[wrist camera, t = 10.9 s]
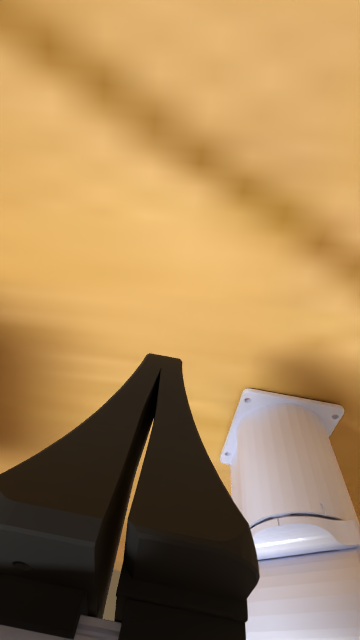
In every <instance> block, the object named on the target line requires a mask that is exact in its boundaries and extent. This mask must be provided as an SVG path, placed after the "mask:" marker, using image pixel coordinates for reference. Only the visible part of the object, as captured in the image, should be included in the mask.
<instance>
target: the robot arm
mask: <svg viewBox="0 0 360 640" xmlns="http://www.w3.org/2000/svg"><path fill="white" fill-rule="evenodd" d="M246 398H249V399H246ZM343 414H344V409H343V407H342V406H341V405H337V404H331V403H326V402H321V401H315V400H310V399H304V398H299V397H294V396H288V395H283V394H278V393H272V392H267V391H261V390H256V389H251V388H248V389H245V390H244V391H243V392H242V395H241V398H240V401H239V404H238V407H237V410H236V412H235V415H234V418H233V421H232V424H231V427H230V430H229V433H228V435H227V438H226V441H225V444H224V447H223V450H222V453H221V455H220V461H221V462H222V463H224V464H229V465H230V467H231V496H230V495H229V493H228V491H227V489H226V488H225V486H224V484H223V483H222V481H221V479H220V477H219V475H218V473H217V472H216V470H215V468H214V466H213V464H212V462H211V460H210V458H209V456H208V454H207V452H206V450H205V447H204V445H203V443H202V441H201V438H200V436H199V433H198V431H197V428H196V425H195V423H194V420H193V417H192V414H191V410H190V407H189V404H188V400H187V395H186V391H185V387H184V381H183V374H182V361H181V360H180V359H178V358H172V357H167V356H161V355H156V354H151V353H149V354H147V355H146V357H145V358H144V360H143V361H142V363H141V364H140V366H139V367H138V368H137V369H136V371H135V372H134V373H133V374H132V376H131V377H130V378H129V379H128V380H127V381H126V383H125V384H124V385H123V386H122V387H121V388H120V389H119V390H118V391H117V392H116V393H115V394H114V395H113V396H112V397H111V398H110V399H109V400H108V401H107V402H106V403H105V404H104V405H103V406H102V407H101V408H100V409H98V410H97V411H96V412H95V413H94V414H93V415H91V416H90V417H89V418H88V419H87V420H85V421H84V422H83V423H81V424H80V425H79V426H78V427H76V428H75V429H74V430H72V431H71V432H70V433H68V434H67V435H65V436H64V437H62V438H61V439H59V440H58V441H56V442H55V443H53V444H52V445H50V446H49V447H47V448H45V449H44V450H42V451H41V452H39V453H38V454H36V455H34V456H33V457H31V458H29V459H27V460H26V461H24V462H22V463H20V464H18V465H16V466H15V467H13V468H11V469H9V470H7V471H6V472H4V473H2V474H0V640H360V523H359V521H358V518H357V515H356V512H355V509H354V507H353V504H352V501H351V498H350V495H349V493H348V490H347V487H346V484H345V482H344V479H343V476H342V473H341V470H340V468H339V465H338V462H337V459H336V456H335V454H334V451H333V448H332V445H331V443H330V440H329V437H330V435H331V433H332V432H333V430H334V429H335V427H336V425H337V424H338V422H339V421H340V419H341V417H342V416H343ZM153 418H154V421H153ZM152 422H153V427H152V431H151V435H150V439H149V443H148V447H147V451H146V455H145V458H144V462H143V466H142V470H141V473H140V477H139V481H138V484H137V488H136V492H135V495H134V499H133V502H132V506H131V510H130V513H129V517H128V523H127V532H126V542H125V551H124V561H123V565H122V570H121V574H120V579H119V583H118V587H117V592H116V596H117V600H116V611H115V621H109V620H105V619H102V618H103V613H104V608H105V604H106V599H107V595H108V590H109V586H110V581H111V576H112V572H113V568H114V563H115V559H116V555H117V550H118V546H119V541H120V537H121V533H122V528H123V524H124V520H125V515H126V511H127V507H128V502H129V498H130V494H131V490H132V485H133V481H134V477H135V474H136V470H137V467H138V464H139V461H140V458H141V455H142V452H143V449H144V446H145V443H146V440H147V437H148V434H149V431H150V428H151V425H152Z"/></svg>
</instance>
